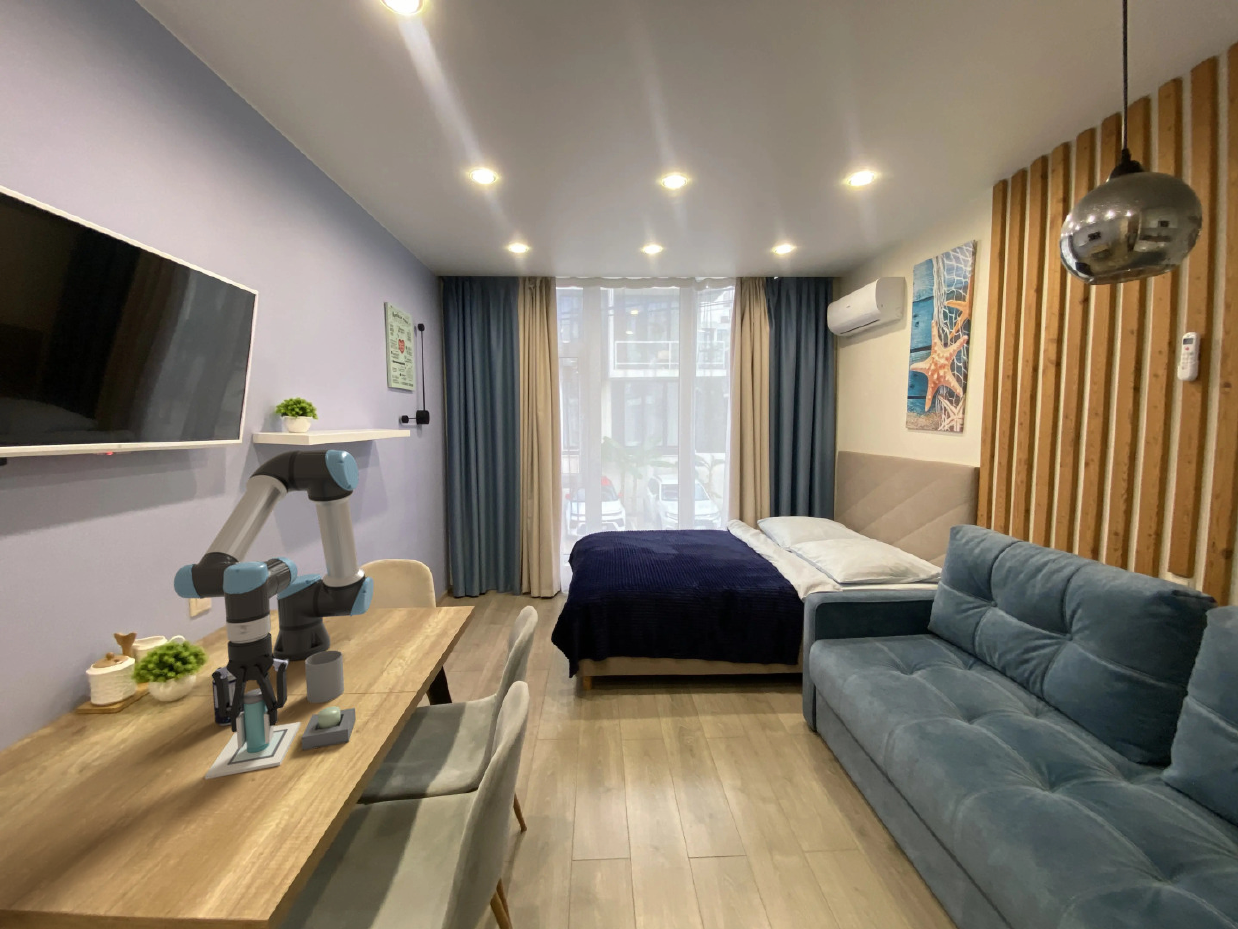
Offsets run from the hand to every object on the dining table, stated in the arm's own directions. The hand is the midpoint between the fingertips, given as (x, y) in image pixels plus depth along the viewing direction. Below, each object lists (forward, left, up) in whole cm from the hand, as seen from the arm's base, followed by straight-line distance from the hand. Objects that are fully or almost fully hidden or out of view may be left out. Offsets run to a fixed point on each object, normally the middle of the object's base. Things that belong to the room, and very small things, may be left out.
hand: (256, 741), depth 108 cm
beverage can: (-17, -10, -3) cm, 20 cm away
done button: (-3, +13, 0) cm, 14 cm away
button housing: (-3, +14, -3) cm, 14 cm away
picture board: (-2, 0, -3) cm, 3 cm away
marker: (-1, 0, -2) cm, 2 cm away
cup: (-23, +9, -3) cm, 24 cm away
